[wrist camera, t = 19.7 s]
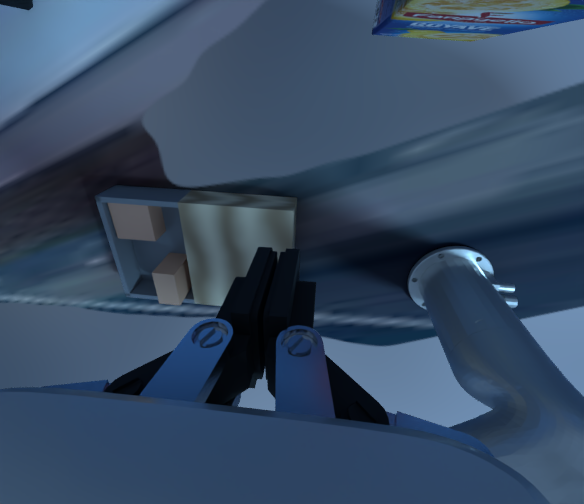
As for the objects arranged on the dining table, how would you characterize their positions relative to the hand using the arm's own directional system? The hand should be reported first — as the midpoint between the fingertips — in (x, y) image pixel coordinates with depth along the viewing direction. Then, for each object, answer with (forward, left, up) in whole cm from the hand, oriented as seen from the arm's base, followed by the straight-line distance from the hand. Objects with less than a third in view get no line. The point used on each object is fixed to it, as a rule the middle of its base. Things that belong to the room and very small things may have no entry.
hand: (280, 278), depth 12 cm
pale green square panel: (+10, +18, -32) cm, 38 cm away
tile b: (+26, +13, -28) cm, 40 cm away
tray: (+24, +18, -32) cm, 44 cm away
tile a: (+19, +23, -28) cm, 41 cm away
